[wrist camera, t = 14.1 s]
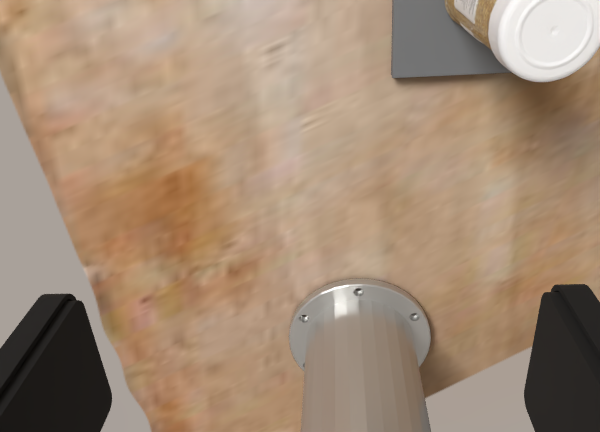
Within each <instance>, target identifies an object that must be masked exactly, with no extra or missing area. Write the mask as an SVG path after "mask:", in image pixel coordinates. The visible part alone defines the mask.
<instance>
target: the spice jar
mask: <svg viewBox="0 0 600 432" xmlns="http://www.w3.org/2000/svg"><path fill="white" fill-rule="evenodd" d="M445 7H446V10H447V12H448V14H449V15H450V17H451V18H452V20H453V21H455V22H456V23H457V24H459V25H460V26H462V27H463V28H464V29H465V30H466V31H467V32H468V33H469V34H471V35H472V36H473V37H474V38H476V39H477V40H478V41H480V42H482V43H483V44H485V45H486V46H487V47H488V48H489V49H491V50H492V51H493V53H494V55H495V57H496V58H497V60H498V61H499V62H500V63H501V64H502V65H503V66H504V67H506V68H507V69H508V70H509V71H511V72H512V73H514V74H515V75H517V76H518V77H520V78H522V79H525V80H529V81H533V82H550V81H555V80H559V79H562V78H565V77H567V76H569V75H571V74H573V73H574V72H576V71H577V70H579V69H580V68H581V67H583V66H584V65H585V64H586V63H587V62H588V61H589V60H590V59H591V58H592V57H593V55H594V54H595V53H596V51H597V50H598V48H599V47H600V0H445Z"/></svg>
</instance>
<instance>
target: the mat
mask: <svg viewBox="0 0 600 432" xmlns="http://www.w3.org/2000/svg"><path fill="white" fill-rule="evenodd" d="M490 73H511V71H509V70H508V69H507V68H506V67H504V66H503V65H502V64H501V63H500V62H499V61H498V60H497V58H496V57H495V55H494V53H493V51H492V50H491V49H489V48H488V47H487V46H486V45H485V44H483V43H482V42H480V41H478V40H477V39H476V38H474V37H473V36H472V35H471V34H469V33H468V32H467V31H466V30H465V29H464V28H463V27H462V26H460V25H459V24H457V23H456V22H455V21H453V20H452V18H451V17H450V15H449V14H448V12H447V10H446V7H445V0H393V6H392V60H391V75H392V78H404V77H426V76H447V75H468V74H490Z"/></svg>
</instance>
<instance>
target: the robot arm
mask: <svg viewBox="0 0 600 432" xmlns="http://www.w3.org/2000/svg"><path fill="white" fill-rule="evenodd" d="M430 342H431V335H430V327H429V323H428V319H427V317H426V315H425V312H424V310H423V309H422V307H421V306H420V305H419V303H418V302H417V301H416V300H415V299H414V298H413V297H412V296H411V295H409V294H408V293H407V292H406V291H404V290H402V289H400V288H398V287H397V286H395V285H392V284H389V283H386V282H383V281H378V280H373V279H348V280H341V281H337V282H334V283H331V284H328V285H326V286H324V287H322V288H320V289H318V290H316V291H314V292H313V293H312V294H310V295H309V296H308V297H306V298H305V299H304V301H303V302H302V303H301V304H300V305H299V306H298V308H297V310H296V311H295V313H294V315H293V317H292V321H291V324H290V332H289V344H290V349H291V352H292V355H293V358H294V359H295V361H296V362H297V364H298V366H299V367H300V368H301V369H302V370H303V371H304V386H303V402H302V418H301V432H431V429H430V424H429V418H428V413H427V408H426V402H425V397H424V392H423V387H422V381H421V376H420V371H419V367H420V366H421V364H422V363H423V362H424V360H425V358H426V356H427V354H428V352H429V348H430ZM524 398H525V405H526V409H527V412H528V414H529V417H530V420H531V422H532V424H533V427H534V430H535V432H600V302H599V301H598V299H597V298H596V296H595V295H594V293H593V292H592V290H591V289H590V288H589V287H588V286H587V285H585V284H571V285H554V286H553V288H552V289H551V292H545V293H544V294H543V295H542V299H541V304H540V309H539V314H538V320H537V325H536V331H535V336H534V341H533V347H532V352H531V357H530V363H529V368H528V374H527V379H526V384H525V390H524ZM111 403H112V393H111V389H110V386H109V383H108V380H107V377H106V374H105V370H104V367H103V364H102V361H101V358H100V354H99V351H98V348H97V345H96V342H95V339H94V335H93V332H92V329H91V326H90V322H89V319H88V316H87V313H86V310H85V307H84V304H83V303H82V301H79V300H78V301H77V300H76V298H75V297H74V296H73V295H72V294H44V295H42V296H40V297H39V298H38V300H37V301H36V302H35V304H34V305H33V306H32V308H31V309H30V310H29V311H28V313H27V314H26V315H25V317H24V318H23V319H22V321H21V322H20V323H19V325H18V326H17V327H16V329H15V330H14V331H13V333H12V334H11V335H10V336H9V338H8V339H7V341H6V342H5V343H4V344H3V346H2V347H1V348H0V432H100V431H101V429H102V427H103V424H104V422H105V420H106V418H107V415H108V413H109V411H110V408H111Z"/></svg>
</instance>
